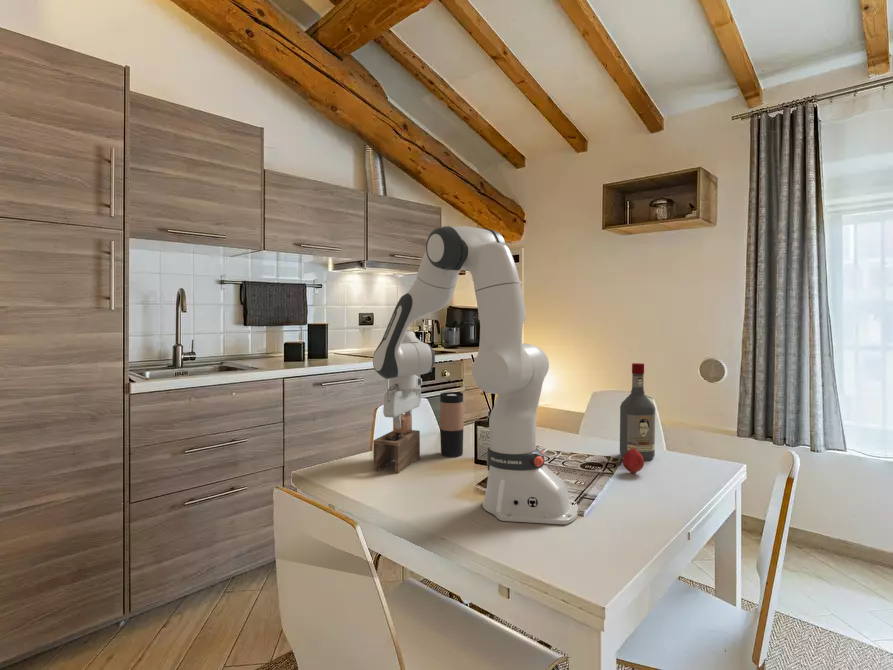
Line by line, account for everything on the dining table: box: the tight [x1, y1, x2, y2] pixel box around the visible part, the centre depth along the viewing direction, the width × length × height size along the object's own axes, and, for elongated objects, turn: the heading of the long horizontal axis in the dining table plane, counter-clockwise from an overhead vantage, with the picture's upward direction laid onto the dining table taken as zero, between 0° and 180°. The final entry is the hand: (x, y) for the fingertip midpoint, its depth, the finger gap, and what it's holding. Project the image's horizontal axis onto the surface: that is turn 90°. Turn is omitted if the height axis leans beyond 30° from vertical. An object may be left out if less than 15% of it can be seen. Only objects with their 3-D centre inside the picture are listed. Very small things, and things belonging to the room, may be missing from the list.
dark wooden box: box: [372, 429, 421, 474], centre depth 160 cm, size 8×16×9 cm, turn 160°
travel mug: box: [439, 391, 464, 458], centre depth 171 cm, size 8×8×20 cm
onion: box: [621, 447, 645, 475], centre depth 150 cm, size 6×6×8 cm
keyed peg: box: [392, 413, 413, 441], centre depth 163 cm, size 4×4×8 cm
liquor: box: [619, 362, 656, 461], centre depth 167 cm, size 9×9×30 cm
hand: (402, 426), depth 163 cm, fingers closed on keyed peg, 4 cm apart
